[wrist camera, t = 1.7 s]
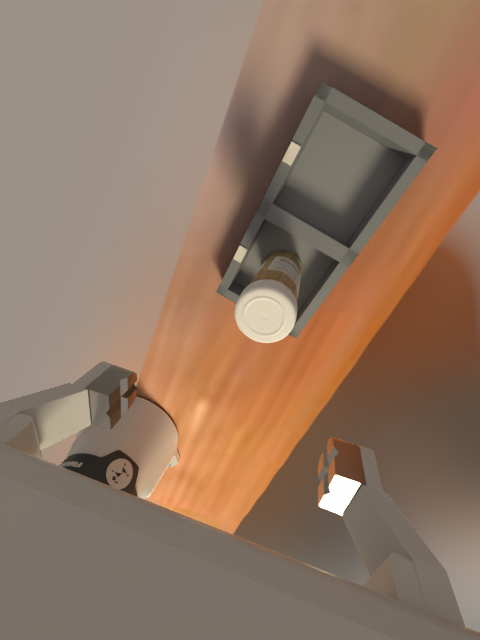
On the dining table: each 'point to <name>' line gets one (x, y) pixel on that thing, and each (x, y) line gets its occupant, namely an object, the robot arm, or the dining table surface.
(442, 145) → the dining table surface
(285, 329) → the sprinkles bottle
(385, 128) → the grey divided tray
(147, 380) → the dining table surface
